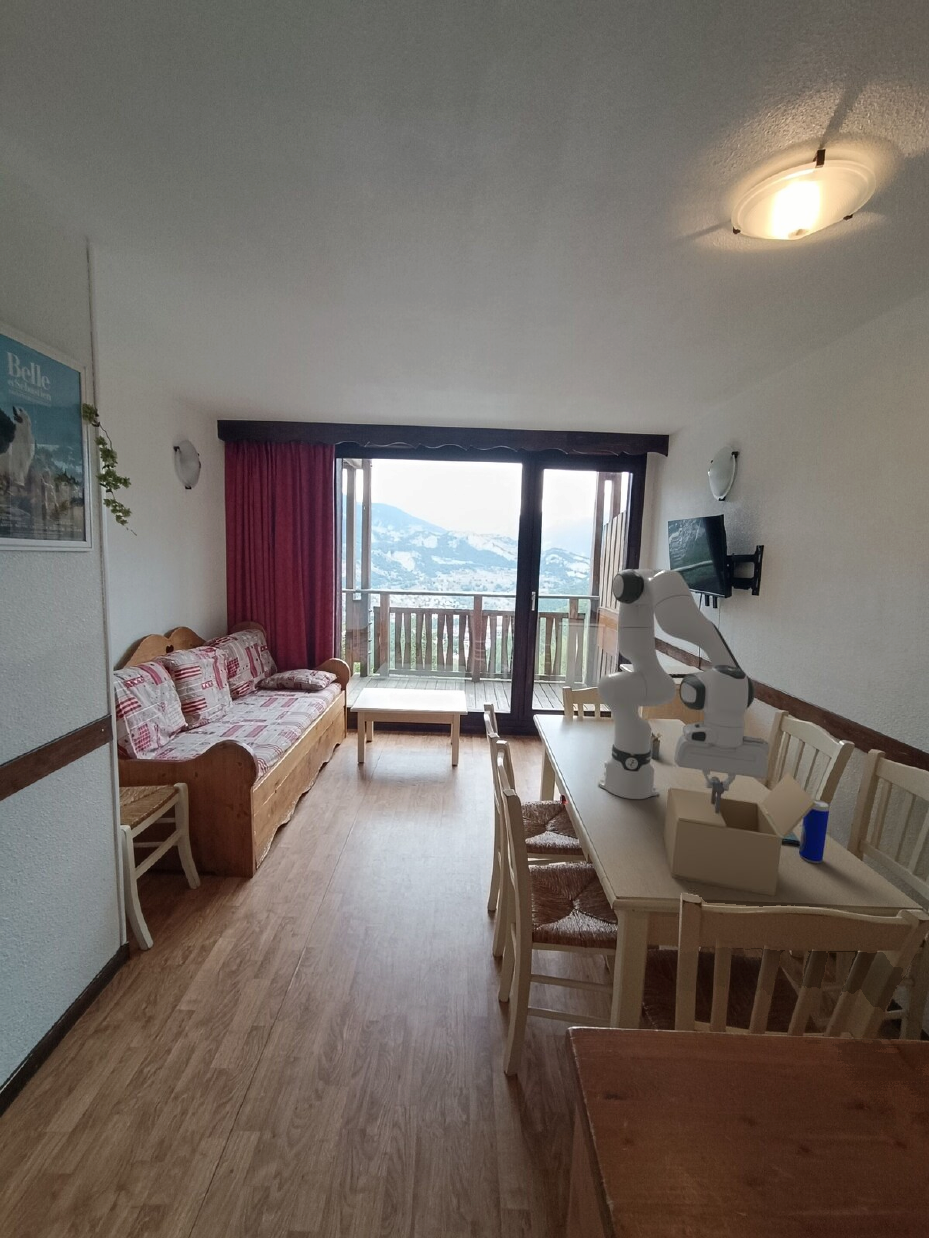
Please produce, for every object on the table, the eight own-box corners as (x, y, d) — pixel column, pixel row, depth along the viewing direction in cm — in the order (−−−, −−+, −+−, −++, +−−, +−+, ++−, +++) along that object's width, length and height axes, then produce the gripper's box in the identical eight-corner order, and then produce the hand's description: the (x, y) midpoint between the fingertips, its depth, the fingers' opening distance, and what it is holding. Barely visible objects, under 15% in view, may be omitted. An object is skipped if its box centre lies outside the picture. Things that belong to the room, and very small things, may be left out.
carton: (663, 838, 143) (668, 789, 141) (753, 854, 138) (759, 802, 136) (671, 876, 126) (677, 820, 124) (774, 896, 120) (782, 837, 119)
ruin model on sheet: (659, 759, 202) (661, 735, 201) (651, 759, 202) (653, 734, 201) (650, 749, 213) (652, 725, 212) (642, 748, 213) (644, 725, 212)
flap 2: (783, 836, 119) (785, 837, 119) (813, 802, 117) (816, 803, 116) (761, 802, 135) (763, 804, 135) (787, 772, 133) (790, 773, 133)
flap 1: (669, 789, 141) (672, 762, 140) (712, 795, 138) (715, 768, 137) (678, 819, 124) (681, 789, 123) (726, 827, 122) (730, 796, 121)
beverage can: (800, 850, 141) (807, 796, 139) (823, 858, 137) (830, 802, 136) (797, 858, 137) (804, 802, 135) (821, 866, 133) (828, 809, 132)
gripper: (766, 735, 128) (760, 789, 130) (676, 724, 133) (671, 777, 135) (775, 743, 122) (767, 801, 124) (680, 732, 127) (674, 787, 129)
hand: (716, 788), depth 130 cm, fingers closed on flap 1, 2 cm apart
